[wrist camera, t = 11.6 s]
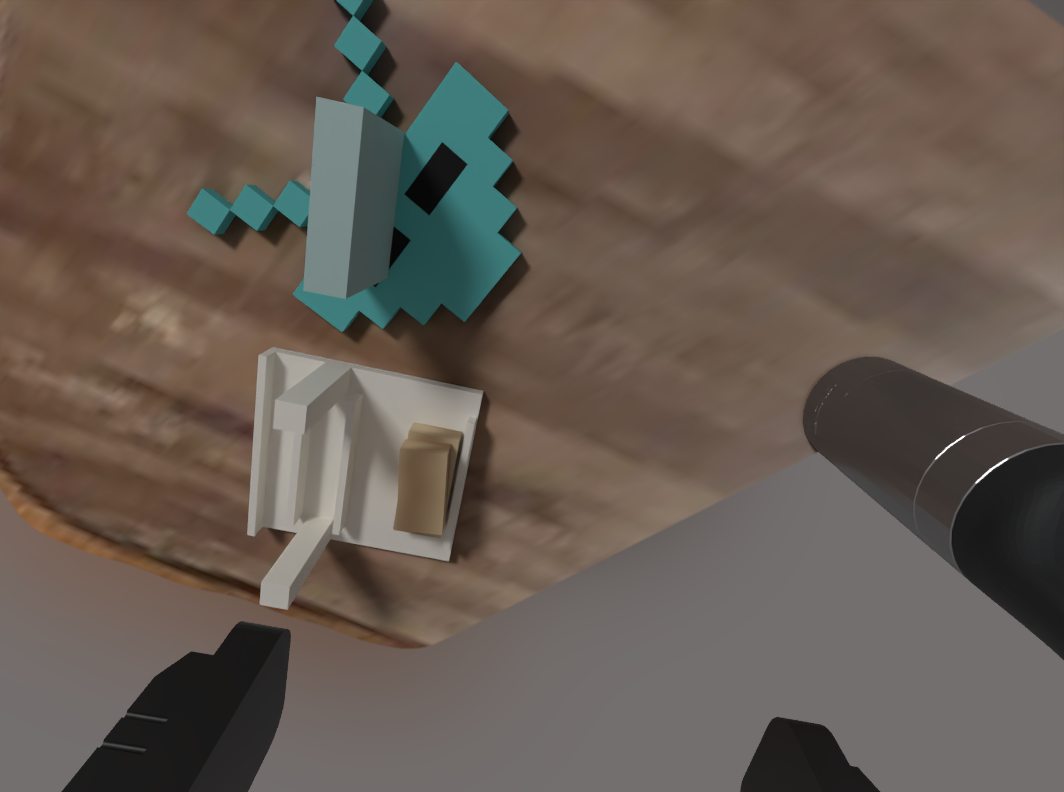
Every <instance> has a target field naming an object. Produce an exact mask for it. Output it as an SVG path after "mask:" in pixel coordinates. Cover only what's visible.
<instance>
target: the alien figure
mask: <svg viewBox="0 0 1064 792" xmlns="http://www.w3.org/2000/svg"><path fill="white" fill-rule="evenodd" d="M336 1H337V2H338V3H339V4H340V5H341V6H342V7H343V8H344V9H345V10H347V11H348V12H349V13H350V14H351V15H352V16H353V17H352V18H351V20H350V21H349V23H348V25H347V26H346V28H345V29H344V31H343V32H342V34H341V36H340V37H339V39H338V40H337V42H336V43H335V45H334V46H335V47H336V48H337V49H338V50H339V51H340V52H342V53H343V54H344V55H345V56H346V57H347V58H348V59H349V60H351V61H352V62H353V63H354V64H355V65H356V66H357V67H358V68H360V69H361V70H362V72H361V73H360V75H359V76H358V78H357V79H356V81H355V82H354V84H353V85H352V87H351V88H350V90H349V91H348V93H347V94H346V96H345V97H344V99H343V100H345V101H346V102H347V103H348V104H351V105H356V106H361V107H364V108H366V109H367V110H369V111H371V112H372V113H374V114H375V115H377V116H379V117H380V118H381V117H382V116H383V114H384V113H385V112H386V110H387V109H388V107H389V106H390V104H391V103H392V101H393V100H394V98H393V97H392V96H391V95H389V94H388V93H387V92H386V91H385V90H384V89H383V88H382V87H380V86H379V85H378V84H377V83H376V82H375V81H374V80H373V79H371V78H370V77H369V76H368V74H369V73H370V71H371V70H372V68H373V67H374V65H375V64H376V62H377V61H378V59H379V58H380V56H381V55H382V53H383V52H384V50H385V49H386V46H385V44H384V43H383V42H382V41H381V40H380V39H379V38H377V37H376V36H375V35H374V34H373V33H372V32H371V31H370V30H369V29H368V28H366V27H365V26H364V25H363V24H362V23H361V22H360V21H361V19H362V17H363V16H364V14H365V13H366V11H367V10H368V8H369V7H370V5H371V3H372V2H373V0H336ZM508 114H509V111H508V109H507V108H506V107H505V106H503V105H502V104H501V103H500V102H499V101H498V100H497V99H496V98H495V97H494V96H493V95H492V94H491V93H489V92H488V91H487V90H486V89H485V88H484V87H483V86H482V85H481V84H480V83H479V82H478V81H477V80H475V79H474V78H473V77H472V76H471V75H470V74H469V73H468V72H467V71H466V70H465V69H464V68H463V67H461V66H460V65H459V64H458V63H457V62H456V63H455V64H454V66H453V67H452V68H451V70H450V71H449V73H448V74H447V76H446V77H445V78H444V80H443V81H442V83H441V84H440V85H439V87H438V88H437V90H436V91H435V93H434V94H433V95H432V97H431V98H430V100H429V101H428V103H427V104H426V105H425V107H424V108H423V110H422V111H421V113H420V114H419V115H418V117H417V118H416V120H415V121H414V122H413V124H412V125H411V127H410V128H409V130H408V131H407V132H406V134H405V135H404V141H403V150H402V158H401V167H400V176H399V184H398V193H397V202H396V210H395V219H394V228H393V236H392V245H391V254H390V262H389V271H388V278H387V279H385V280H383V281H381V282H379V283H377V284H375V285H373V286H371V287H369V288H367V289H365V290H363V291H361V292H359V293H357V294H355V295H353V296H351V297H349V298H347V299H343V298H338V297H333V296H328V295H323V294H318V293H313V292H307V291H303V287H304V279H303V280H302V282H301V283H300V285H299V286H298V288H297V289H296V290H295V292H294V293H293V295H294V296H295V297H296V298H298V299H299V300H300V301H302V302H303V303H304V304H306V305H307V306H308V307H310V308H311V309H312V310H313V311H315V312H316V313H317V314H319V315H320V316H321V317H323V318H324V319H325V320H327V321H328V322H329V323H331V324H332V325H333V326H334V327H336V328H337V329H338V330H340V331H341V332H343V331H345V330H347V329H348V328H349V326H350V325H351V324H352V322H353V321H354V320H355V318H356V317H357V316H358V314H359V313H360V312H362V313H363V314H364V315H365V316H367V317H368V318H369V319H371V320H372V321H373V322H374V323H376V324H377V325H378V326H380V327H381V328H382V329H383V328H385V327H386V326H387V325H388V324H389V322H390V321H391V320H392V319H393V317H394V316H395V315H396V313H397V312H398V311H399V309H400V308H402V309H403V310H405V311H406V312H407V313H408V314H410V315H411V316H412V317H413V318H415V319H416V320H417V321H418V322H420V323H421V324H422V325H423V326H424V325H425V324H426V323H427V321H428V320H429V319H430V318H431V316H432V315H433V314H434V312H435V311H436V310H437V309H438V307H439V306H440V305H441V304H443V305H444V306H445V307H446V308H448V309H449V310H450V311H451V312H453V313H454V314H455V315H456V316H458V317H459V318H460V319H461V320H462V321H464V322H465V321H466V320H467V319H468V317H469V316H470V315H471V314H472V313H473V311H474V310H475V309H476V308H477V306H478V305H479V304H480V303H481V302H482V300H483V299H484V298H485V297H486V295H487V294H488V293H489V292H490V290H491V289H492V288H493V287H494V286H495V284H496V283H497V282H498V281H499V279H500V278H501V277H502V276H503V275H504V273H505V272H506V271H507V270H508V268H509V267H510V266H511V265H512V263H513V262H514V261H515V260H516V259H517V257H518V256H519V255H520V254H521V251H520V250H519V249H517V248H516V247H515V246H514V245H513V244H512V243H510V242H509V241H508V240H507V239H506V238H505V237H504V236H502V235H501V234H500V233H499V231H500V229H501V228H502V227H503V225H504V224H505V223H506V222H507V220H508V219H509V218H510V217H511V215H512V214H513V213H514V212H515V210H516V209H517V207H516V206H515V205H514V204H512V203H511V202H510V201H509V200H508V199H507V198H506V197H505V196H503V195H502V194H501V193H500V192H499V191H498V190H497V189H496V188H494V186H495V185H496V184H497V182H498V181H499V180H500V178H501V177H502V176H503V175H504V173H505V172H506V171H507V169H508V168H509V167H510V166H511V164H512V163H513V160H512V159H511V158H510V157H509V156H507V155H506V154H505V153H504V152H503V151H502V150H501V149H500V148H499V147H498V146H496V145H495V144H494V143H493V142H492V141H491V140H490V138H491V137H492V135H493V134H494V133H495V131H496V130H497V129H498V127H499V126H500V125H501V123H502V122H503V121H504V119H505V118H506V117H507V115H508ZM309 200H310V191H309V190H308V189H306V188H305V187H304V186H303V185H301V184H300V183H299V182H298V181H289V183H288V184H287V186H286V187H285V189H284V190H283V192H282V193H281V195H280V196H279V198H278V199H277V201H276V202H275V201H274V200H273V199H272V198H270V197H269V196H268V195H267V194H265V193H264V192H263V191H262V190H260V189H259V188H258V187H257V186H255V185H245V187H244V188H243V190H242V191H241V193H240V195H239V196H238V198H237V199H236V201H235V202H234V204H233V205H232V204H231V203H230V202H228V201H227V200H226V199H225V198H223V197H222V196H221V195H220V194H218V193H217V192H216V191H214V190H213V189H202V190H201V191H200V193H199V194H198V196H197V198H196V199H195V201H194V203H193V204H192V206H191V208H190V209H189V211H188V212H187V214H188V215H189V216H190V217H191V218H193V219H194V220H195V221H197V222H198V223H199V224H201V225H202V226H203V227H205V228H206V229H207V230H209V231H210V232H211V233H212V234H214V235H216V234H224V233H225V231H226V230H227V228H228V227H229V225H230V224H231V222H232V220H233V219H234V217H235V216H236V215H237V216H238V217H239V218H241V219H242V220H243V221H245V222H246V223H247V224H248V225H250V226H251V227H252V228H254V229H255V230H256V231H262V230H266V228H267V227H268V225H269V224H270V222H271V221H272V219H273V218H274V216H275V215H276V213H277V212H278V210H279V211H280V212H281V213H282V214H284V215H285V216H286V217H287V218H289V219H290V220H291V221H292V222H294V223H295V224H296V225H298V226H299V227H307V226H308V214H309Z"/></svg>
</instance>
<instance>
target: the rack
mask: <svg viewBox="0 0 1064 792" xmlns="http://www.w3.org/2000/svg"><path fill="white" fill-rule="evenodd" d="M482 396H483V391H482V390H477V389H472V388H468V387H463V386H458V385H453V384H448V383H444V382H439V381H434V380H429V379H424V378H420V377H415V376H410V375H405V374H400V373H396V372H391V371H386V370H381V369H376V368H372V367H367V366H362V365H357V364H352V363H348V362H343V361H338V360H333V359H328V358H324V357H319V356H314V355H309V354H304V353H300V352H295V351H290V350H285V349H280V348H276V347H273V348H271V349H269V350H267V351H265V352H263V353H261V354H260V355H259V359H258V374H257V390H256V406H255V421H254V437H253V453H252V468H251V484H250V500H249V515H248V531H247V535H250V536H255V535H256V534H257V533H258V531H259V530H260V529H261V528H262V527H267V528H273V529H278V530H284V531H289V532H294V533H297V534H296V535H295V536H294V538H293V539H292V540H291V542H290V543H289V545H288V546H287V547H286V549H285V550H284V551H283V553H282V554H281V556H280V557H279V558H278V560H277V561H276V562H275V564H274V565H273V567H272V568H271V569H270V571H269V572H268V573H267V575H266V576H265V578H264V579H263V580H262V582H261V593H260V605H264V606H270V607H276V608H281V609H287V610H288V608H289V606H290V605H291V603H292V602H293V600H294V598H295V597H296V595H297V593H298V592H299V590H300V588H301V587H302V585H303V584H304V582H305V580H306V579H307V577H308V575H309V574H310V572H311V571H312V569H313V567H314V566H315V564H316V562H317V561H318V559H319V557H320V556H321V554H322V553H323V551H324V549H325V548H326V546H327V544H328V543H329V541H330V539H332V540H337V541H342V542H348V543H353V544H359V545H364V546H369V547H375V548H380V549H385V550H391V551H396V552H401V553H407V554H412V555H418V556H423V557H428V558H434V559H439V560H444V561H449V559H450V554H451V549H452V544H453V539H454V534H455V530H456V525H457V520H458V515H459V510H460V505H461V500H462V495H463V490H464V485H465V480H466V475H467V470H468V465H469V460H470V455H471V450H472V445H473V440H474V435H475V430H476V425H477V421H478V416H479V411H480V406H481V401H482ZM414 422H416V423H421V424H426V425H431V426H436V427H441V428H446V429H451V430H456V431H461V432H462V437H461V442H460V447H459V452H458V457H457V462H456V468H455V473H454V478H453V483H452V488H451V493H450V498H449V504H448V509H447V514H446V523H445V526H444V530H443V534H442V535H441V539H440V538H434V537H429V536H424V535H419V534H413V533H408V532H403V531H396V530H393V526H394V520H395V514H396V507H397V501H398V477H399V451H400V448H401V446H402V444H403V443H404V441H405V439H408V433H409V430H410V428H411V426H412V425H413V423H414Z"/></svg>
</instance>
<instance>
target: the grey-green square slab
mask: <svg viewBox="0 0 1064 792" xmlns="http://www.w3.org/2000/svg"><path fill="white" fill-rule="evenodd" d="M403 141H404V132H403V131H401V130H400V129H398V128H396V127H395V126H393V125H392V124H390V123H388V122H387V121H385V120H384V119H382V118H380V117H379V116H377V115H375V114H374V113H372V112H371V111H369V110H367V109H366V108H364V107H361V106H356V105H351V104H347V103H342V102H338V101H333V100H329V99H324V98H320V97H316V112H315V127H314V141H313V156H312V171H311V185H310V200H309V214H308V229H307V244H306V258H305V273H304V287H303V291H307V292H313V293H318V294H323V295H328V296H333V297H338V298H343V299H347V298H349V297H351V296H353V295H355V294H357V293H359V292H361V291H363V290H365V289H367V288H369V287H371V286H373V285H375V284H377V283H379V282H381V281H383V280H385V279H387V278H388V271H389V262H390V254H391V245H392V236H393V228H394V219H395V210H396V202H397V193H398V184H399V176H400V167H401V158H402V150H403Z"/></svg>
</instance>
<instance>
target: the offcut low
mask: <svg viewBox="0 0 1064 792" xmlns="http://www.w3.org/2000/svg"><path fill="white" fill-rule="evenodd" d="M461 437H462V432H461V431H456V430H451V429H446V428H441V427H436V426H431V425H426V424H421V423H416V422H414V423H413V425H412V426H411V428H410V430H409V433H408V440H418V441H428V442H437V443H447V444H451V456H450V470H449V484H448V498H447V509H448V504H449V498H450V493H451V488H452V483H453V478H454V473H455V468H456V462H457V457H458V452H459V447H460V442H461ZM397 503H398V501H397ZM446 514H447V512H446ZM396 529H397V507H396V514H395V520H394V526H393V530H396ZM403 532H406V531H403ZM408 533H413V534H419V535H424V536H429V537H434V538H440V539H441V535H436V534H426V533H416V532H408Z"/></svg>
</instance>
